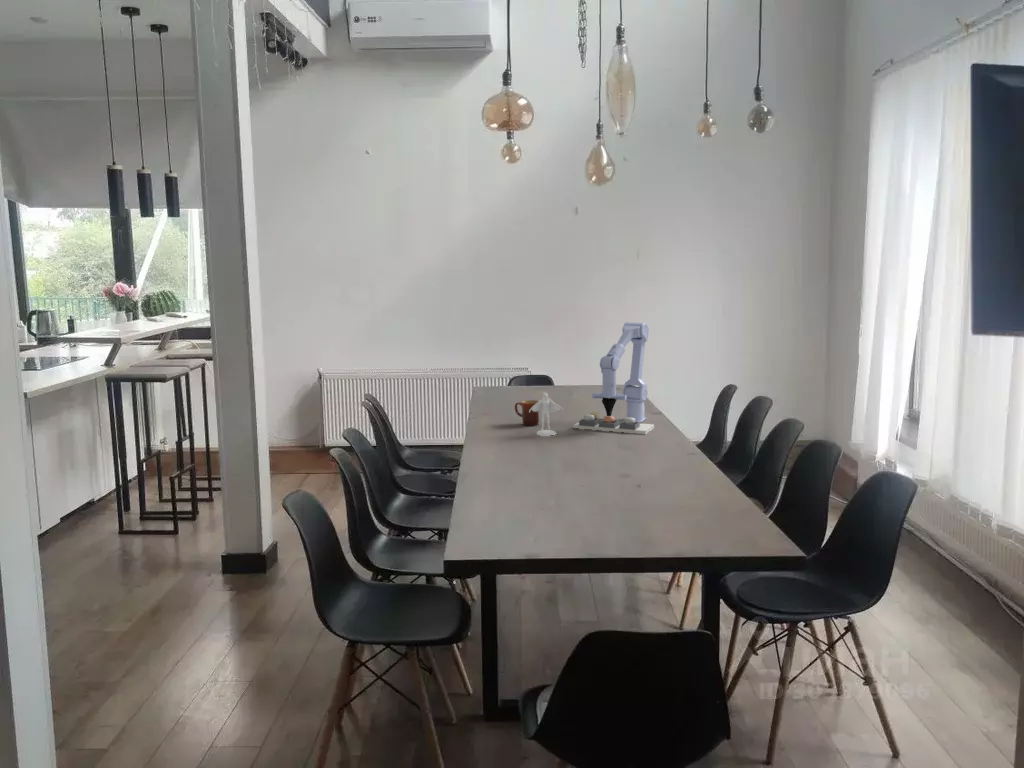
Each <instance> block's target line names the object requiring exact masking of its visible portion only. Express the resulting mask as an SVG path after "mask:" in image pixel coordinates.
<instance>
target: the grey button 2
mask: <svg viewBox="0 0 1024 768" xmlns="http://www.w3.org/2000/svg"><path fill="white" fill-rule="evenodd" d="M623 421H624V424H630V425H635V418H633V417H627V416H626V417H624V418H623Z"/></svg>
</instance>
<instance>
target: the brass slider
mask: <svg viewBox="0 0 1024 768" xmlns="http://www.w3.org/2000/svg"><path fill="white" fill-rule="evenodd" d="M589 414H591V415H595V419H598V418H599V419H600V412H599V411H592V412H590V413H589Z"/></svg>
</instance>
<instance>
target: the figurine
mask: <svg viewBox="0 0 1024 768" xmlns="http://www.w3.org/2000/svg"><path fill="white" fill-rule="evenodd" d="M542 393H543V394H542V397H541V398H540V399H539V400H537V401H538V402H537V403H536V404H535V405H534V406H533V407H532V408H531V409H532V411H534V412H537V411H539V412H541V430H538V431H537V432H536V433H535V435H536V434H537V435H536V436H538V435H540V436H539V437H551V436H550V435H554V436H556V435H557V432H556V431H555V430H552V429H551V425H550V422H551V421H550V418H551V417H550V416H551V414H550V413H555V412H558V411H560V410H562V411H565V410H564V408H563V407H561V405H559V404H557V403H555V402H554V401H553V400H552V399H551V398H550V397H549V394H548V393H547V392H544V391H543V392H542ZM531 409H530V410H529V413H530V411H531ZM545 417H546V422H547V428H548V429H544V426H545ZM555 434H556V435H555Z"/></svg>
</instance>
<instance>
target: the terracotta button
mask: <svg viewBox="0 0 1024 768" xmlns="http://www.w3.org/2000/svg"><path fill="white" fill-rule="evenodd" d="M603 419H604V423H615V420H616V419H615V416H613V415H611V416H607V415H604V416H603Z"/></svg>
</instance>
